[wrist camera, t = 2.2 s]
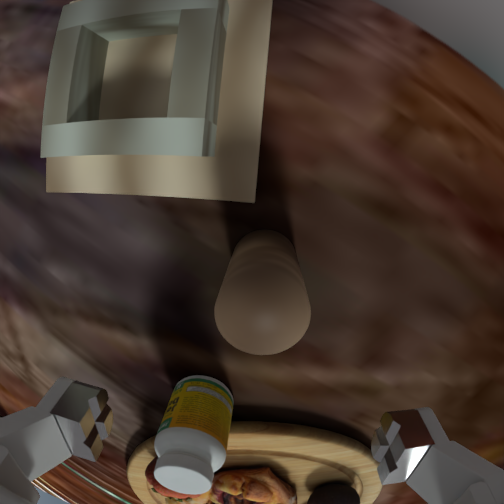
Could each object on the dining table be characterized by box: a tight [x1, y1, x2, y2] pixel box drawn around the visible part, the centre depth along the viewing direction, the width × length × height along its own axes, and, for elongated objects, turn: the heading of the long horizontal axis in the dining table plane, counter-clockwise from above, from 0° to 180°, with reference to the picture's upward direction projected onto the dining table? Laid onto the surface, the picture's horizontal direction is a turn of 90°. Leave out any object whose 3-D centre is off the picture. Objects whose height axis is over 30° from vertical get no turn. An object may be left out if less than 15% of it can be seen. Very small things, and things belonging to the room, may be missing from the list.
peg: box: [214, 229, 311, 355], centre depth 18 cm, size 4×4×8 cm
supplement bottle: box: [154, 375, 233, 495], centre depth 21 cm, size 5×5×10 cm
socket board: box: [41, 0, 273, 203], centre depth 16 cm, size 16×16×5 cm
